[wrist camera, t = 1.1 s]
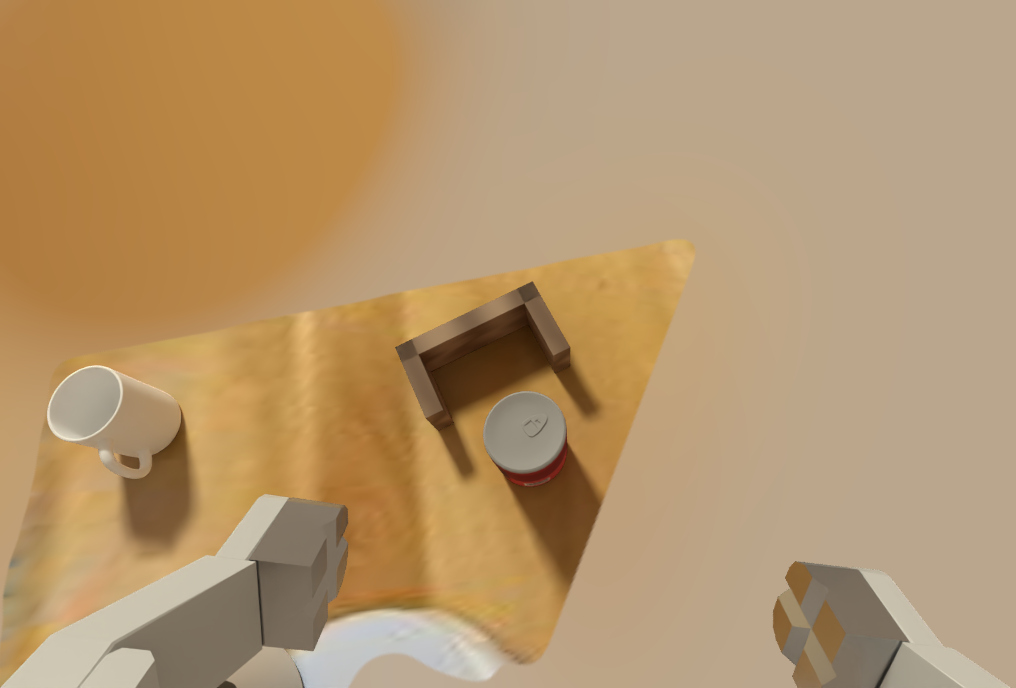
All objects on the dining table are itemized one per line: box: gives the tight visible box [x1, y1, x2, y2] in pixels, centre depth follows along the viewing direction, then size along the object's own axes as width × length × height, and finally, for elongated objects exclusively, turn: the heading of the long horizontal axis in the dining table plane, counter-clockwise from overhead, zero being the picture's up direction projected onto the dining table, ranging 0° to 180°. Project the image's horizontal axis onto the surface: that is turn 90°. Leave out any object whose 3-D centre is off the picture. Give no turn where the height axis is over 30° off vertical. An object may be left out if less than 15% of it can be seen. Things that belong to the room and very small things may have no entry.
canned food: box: [483, 391, 567, 487], centre depth 58 cm, size 8×8×11 cm
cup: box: [47, 366, 181, 479], centre depth 63 cm, size 8×12×10 cm
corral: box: [395, 281, 570, 431], centre depth 64 cm, size 17×9×6 cm, turn 116°
